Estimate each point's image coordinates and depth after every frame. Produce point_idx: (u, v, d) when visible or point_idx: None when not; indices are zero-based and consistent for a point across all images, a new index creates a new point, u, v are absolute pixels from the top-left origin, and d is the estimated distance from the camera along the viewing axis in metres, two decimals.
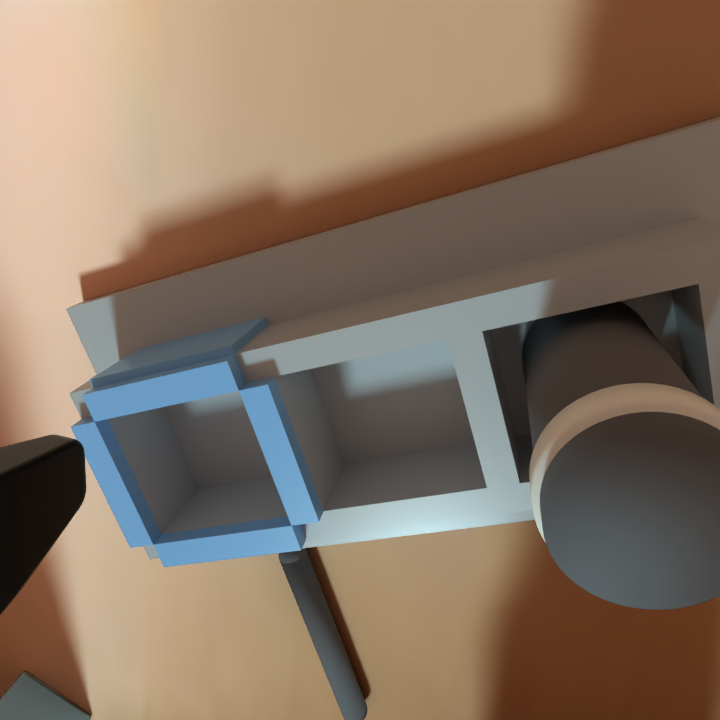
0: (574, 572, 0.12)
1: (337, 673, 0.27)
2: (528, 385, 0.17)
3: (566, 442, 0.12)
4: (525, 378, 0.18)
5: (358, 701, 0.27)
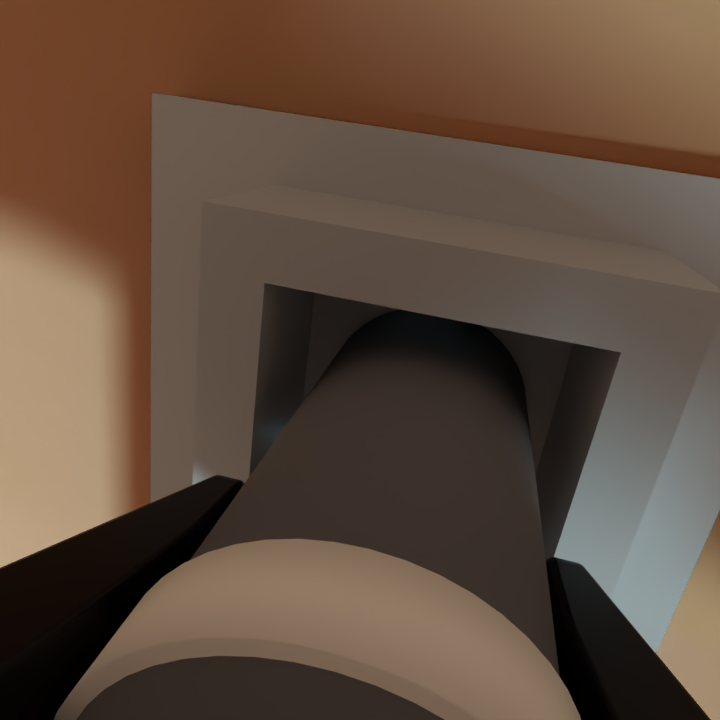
0: None
1: None
2: None
3: None
4: None
5: None
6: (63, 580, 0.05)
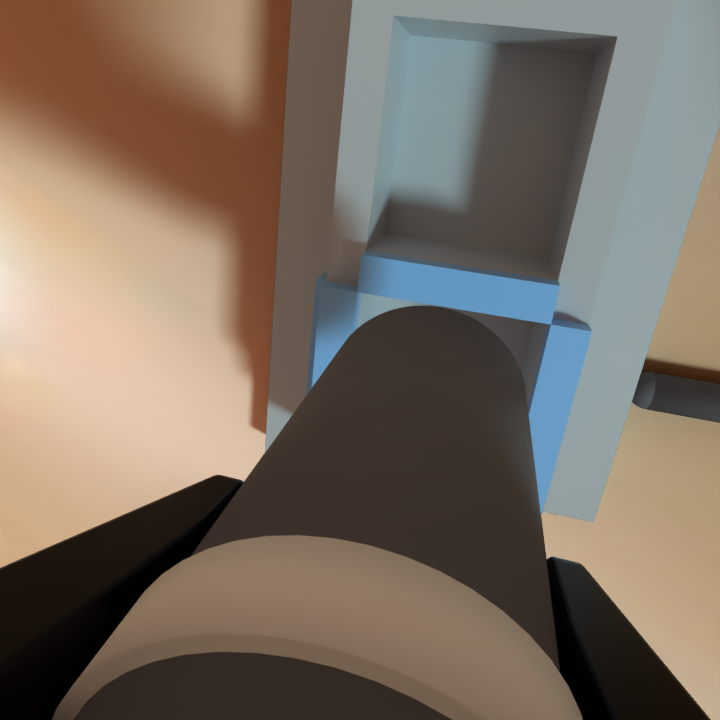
0: None
1: None
2: None
3: None
4: None
5: None
6: (63, 580, 0.05)
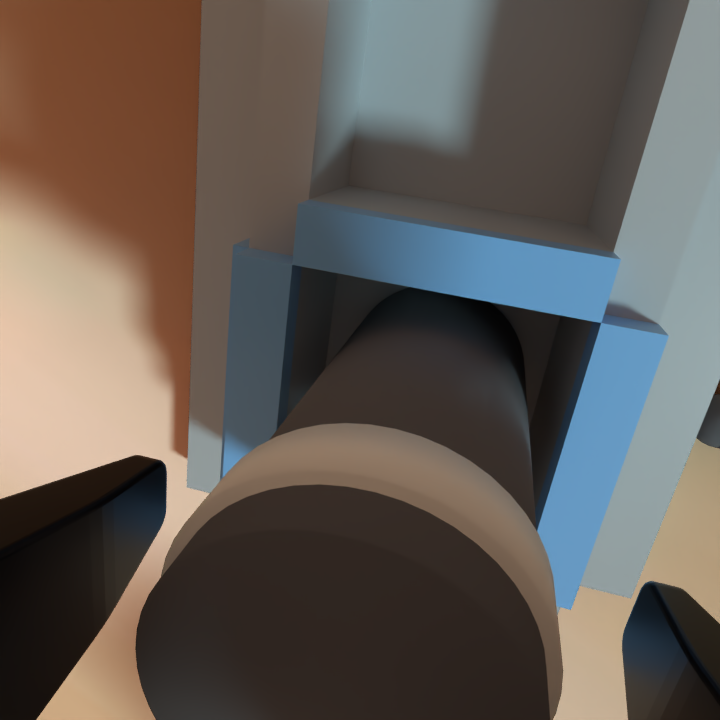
0: None
1: None
2: None
3: None
4: None
5: None
6: None
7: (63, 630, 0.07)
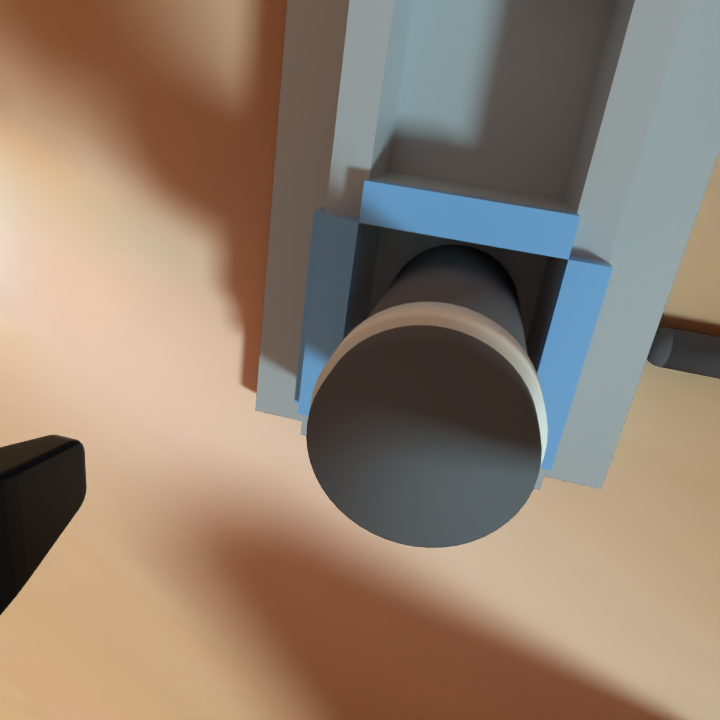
0: (454, 537, 0.11)
1: None
2: None
3: None
4: None
5: None
6: None
7: None
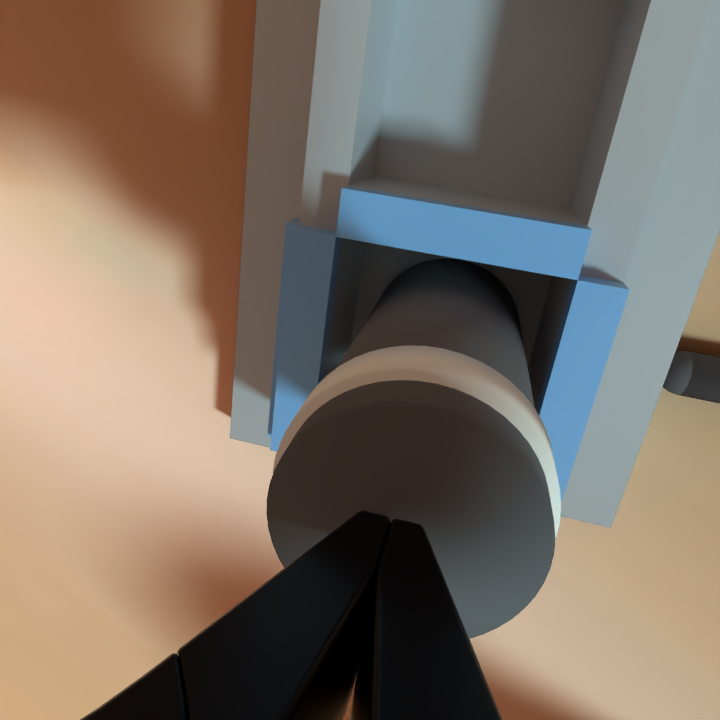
0: None
1: None
2: None
3: None
4: None
5: None
6: (276, 640, 0.05)
7: (336, 711, 0.06)
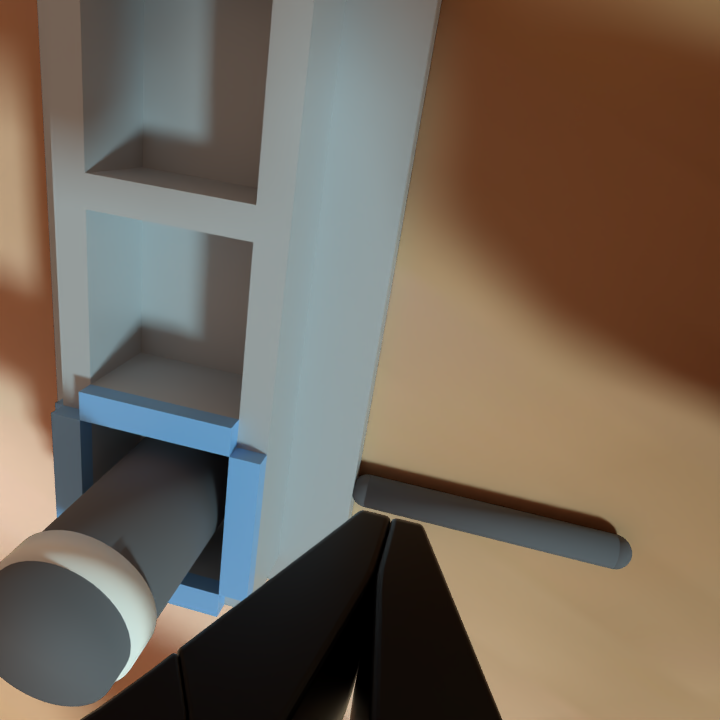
0: (75, 701, 0.15)
1: (535, 536, 0.21)
2: None
3: None
4: None
5: (595, 538, 0.21)
6: (276, 640, 0.05)
7: (336, 711, 0.06)
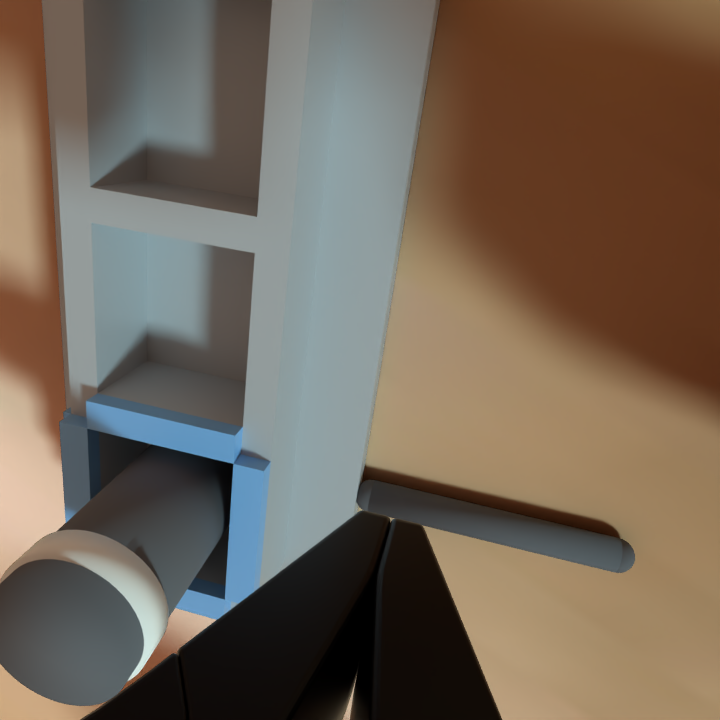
0: (88, 700, 0.15)
1: (537, 540, 0.21)
2: None
3: None
4: None
5: (598, 542, 0.21)
6: (276, 641, 0.05)
7: (336, 711, 0.06)
